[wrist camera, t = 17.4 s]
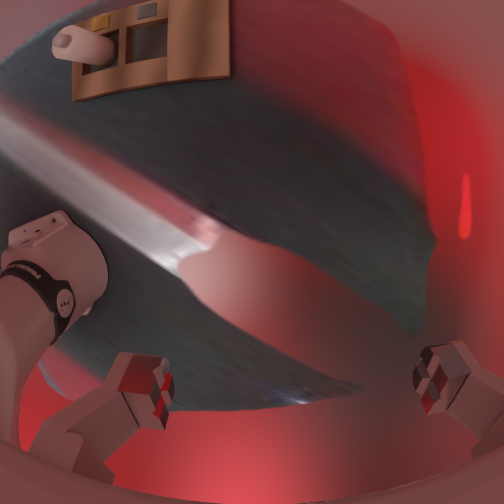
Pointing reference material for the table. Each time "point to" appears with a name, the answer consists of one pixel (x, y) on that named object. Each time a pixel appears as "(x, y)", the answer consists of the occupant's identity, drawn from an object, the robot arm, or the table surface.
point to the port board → (158, 46)
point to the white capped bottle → (84, 47)
